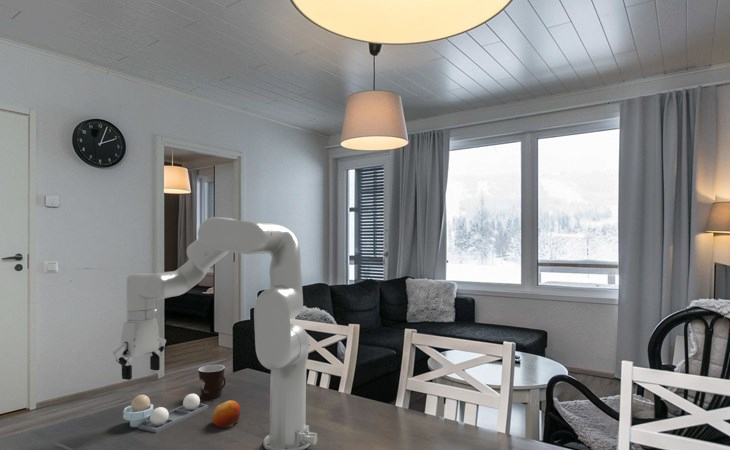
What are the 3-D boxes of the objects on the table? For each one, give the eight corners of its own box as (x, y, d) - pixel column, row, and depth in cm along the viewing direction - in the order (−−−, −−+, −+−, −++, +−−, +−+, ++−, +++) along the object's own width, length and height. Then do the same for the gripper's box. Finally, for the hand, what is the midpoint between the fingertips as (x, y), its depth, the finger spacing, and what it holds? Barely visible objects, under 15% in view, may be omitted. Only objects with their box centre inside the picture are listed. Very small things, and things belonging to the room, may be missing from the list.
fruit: (238, 427, 128) (225, 401, 129) (216, 439, 130) (203, 414, 131) (251, 416, 136) (238, 392, 137) (230, 428, 138) (218, 404, 139)
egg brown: (139, 411, 136) (143, 393, 137) (151, 413, 134) (155, 395, 135) (125, 411, 131) (130, 393, 133) (137, 414, 129) (142, 395, 131)
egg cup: (159, 422, 134) (159, 405, 135) (136, 433, 127) (136, 414, 127) (140, 418, 138) (140, 401, 138) (116, 428, 130) (117, 410, 131)
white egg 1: (172, 424, 132) (172, 406, 133) (157, 428, 128) (158, 409, 129) (160, 422, 135) (161, 404, 136) (145, 426, 130) (146, 408, 131)
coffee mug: (196, 395, 158) (197, 366, 158) (222, 392, 162) (223, 363, 162) (199, 406, 148) (200, 375, 148) (227, 402, 151) (227, 372, 152)
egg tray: (208, 409, 145) (208, 404, 145) (156, 434, 127) (156, 429, 127) (191, 405, 148) (191, 401, 148) (137, 430, 129) (137, 425, 129)
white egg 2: (203, 408, 145) (203, 392, 145) (191, 413, 140) (191, 397, 140) (191, 406, 147) (191, 390, 147) (179, 411, 142) (179, 395, 142)
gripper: (155, 310, 143) (156, 365, 142) (105, 319, 127) (105, 381, 126) (173, 311, 140) (174, 367, 139) (124, 321, 124) (124, 384, 123)
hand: (141, 374), depth 133 cm, fingers open, 9 cm apart
